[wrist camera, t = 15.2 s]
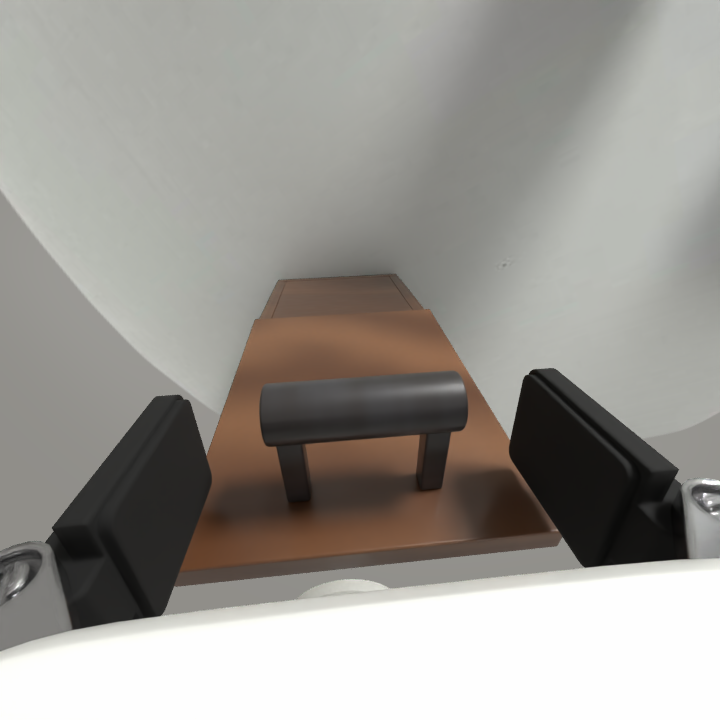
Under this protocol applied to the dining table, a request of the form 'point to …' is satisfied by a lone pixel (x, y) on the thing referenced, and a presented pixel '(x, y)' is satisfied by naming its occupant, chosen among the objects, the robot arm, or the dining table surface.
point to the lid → (356, 455)
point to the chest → (339, 296)
